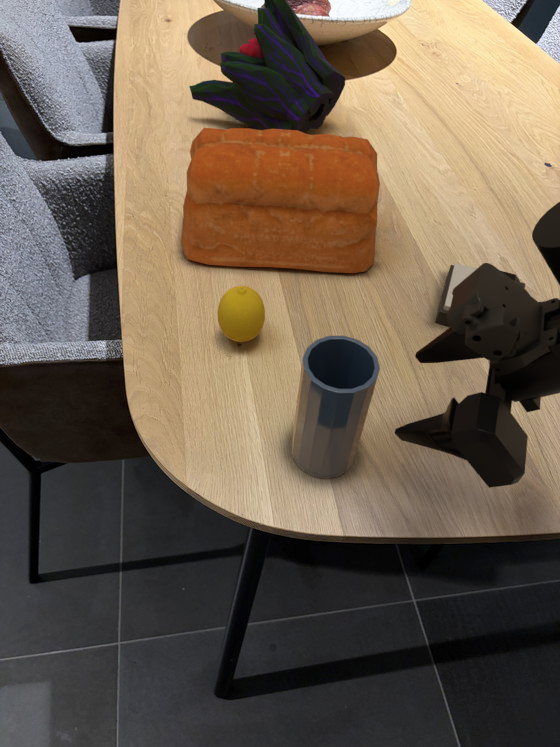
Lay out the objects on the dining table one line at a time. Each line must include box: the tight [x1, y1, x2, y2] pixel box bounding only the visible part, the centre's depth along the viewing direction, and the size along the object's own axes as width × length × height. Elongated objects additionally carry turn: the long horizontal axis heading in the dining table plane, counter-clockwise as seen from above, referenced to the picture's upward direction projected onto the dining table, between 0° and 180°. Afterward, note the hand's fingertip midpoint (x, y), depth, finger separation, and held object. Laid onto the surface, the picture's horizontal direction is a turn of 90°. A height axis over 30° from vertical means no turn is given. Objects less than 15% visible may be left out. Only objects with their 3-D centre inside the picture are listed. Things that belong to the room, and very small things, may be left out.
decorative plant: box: [188, 0, 346, 134], centre depth 104 cm, size 21×26×30 cm
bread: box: [180, 127, 381, 274], centre depth 81 cm, size 14×27×15 cm, turn 89°
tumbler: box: [291, 335, 381, 479], centre depth 58 cm, size 7×7×14 cm
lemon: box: [217, 285, 266, 343], centre depth 70 cm, size 6×6×8 cm
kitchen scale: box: [435, 262, 526, 328], centre depth 78 cm, size 10×10×3 cm
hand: (408, 394), depth 53 cm, fingers open, 9 cm apart
